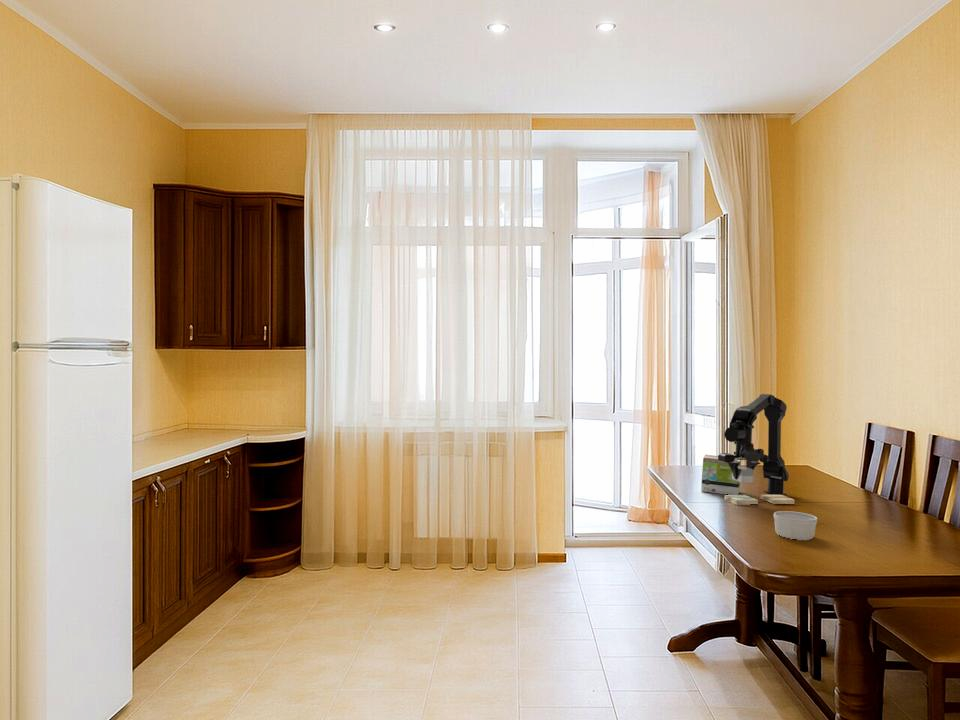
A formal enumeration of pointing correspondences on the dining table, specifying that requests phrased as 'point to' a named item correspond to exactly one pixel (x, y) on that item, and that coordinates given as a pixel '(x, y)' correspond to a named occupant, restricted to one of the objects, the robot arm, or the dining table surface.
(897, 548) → the dining table surface
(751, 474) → the block
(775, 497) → the stand
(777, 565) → the dining table surface
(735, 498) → the stand
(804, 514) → the ramekin
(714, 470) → the tea box
